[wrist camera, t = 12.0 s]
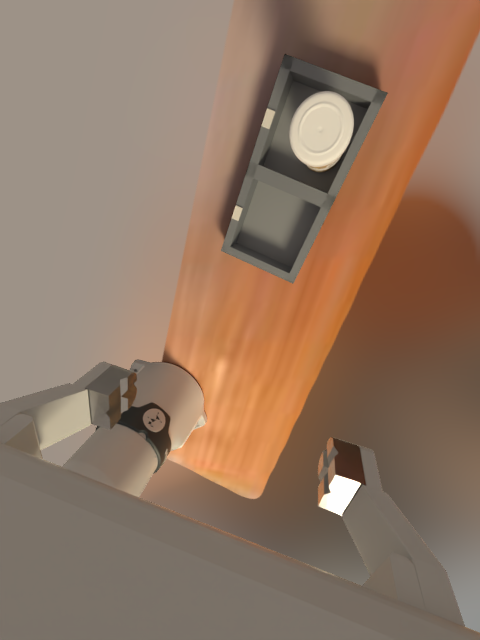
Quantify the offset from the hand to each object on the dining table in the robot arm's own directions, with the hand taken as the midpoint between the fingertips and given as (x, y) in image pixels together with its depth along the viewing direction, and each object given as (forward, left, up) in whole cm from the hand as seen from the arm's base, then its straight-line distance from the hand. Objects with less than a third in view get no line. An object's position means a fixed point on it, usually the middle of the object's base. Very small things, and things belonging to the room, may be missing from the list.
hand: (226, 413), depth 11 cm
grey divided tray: (+5, +6, -30) cm, 31 cm away
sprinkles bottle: (+10, +6, -30) cm, 33 cm away
